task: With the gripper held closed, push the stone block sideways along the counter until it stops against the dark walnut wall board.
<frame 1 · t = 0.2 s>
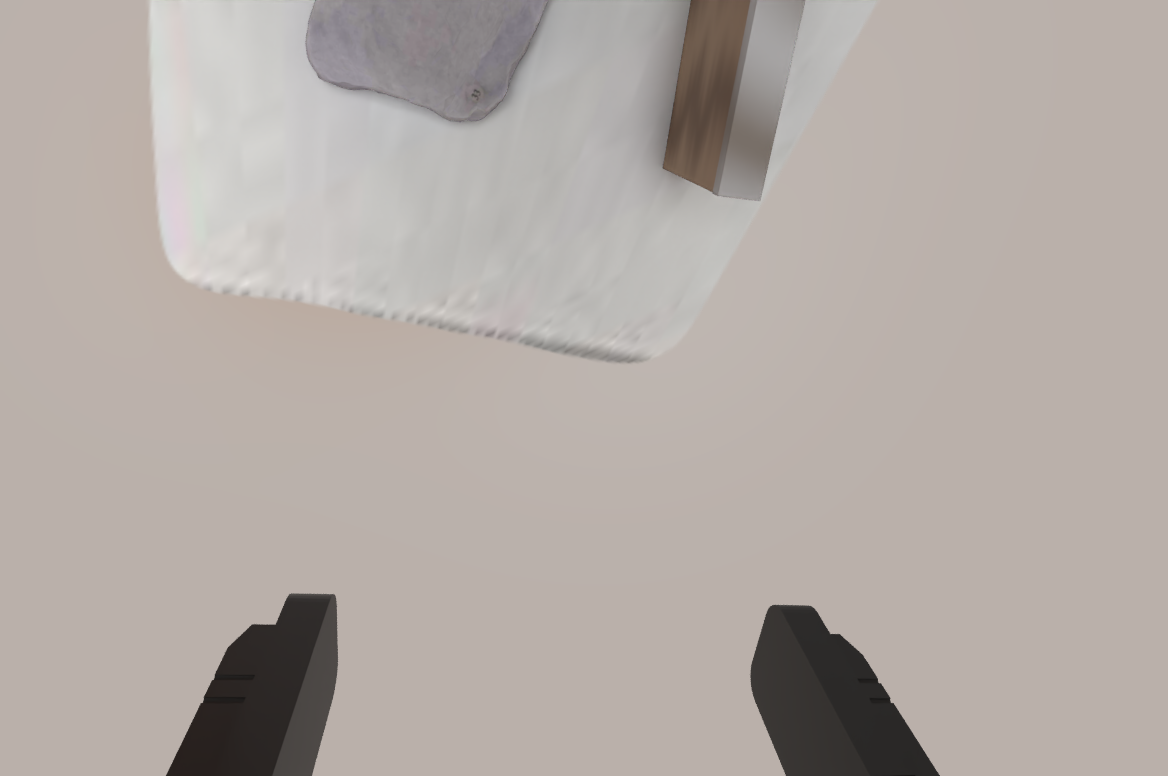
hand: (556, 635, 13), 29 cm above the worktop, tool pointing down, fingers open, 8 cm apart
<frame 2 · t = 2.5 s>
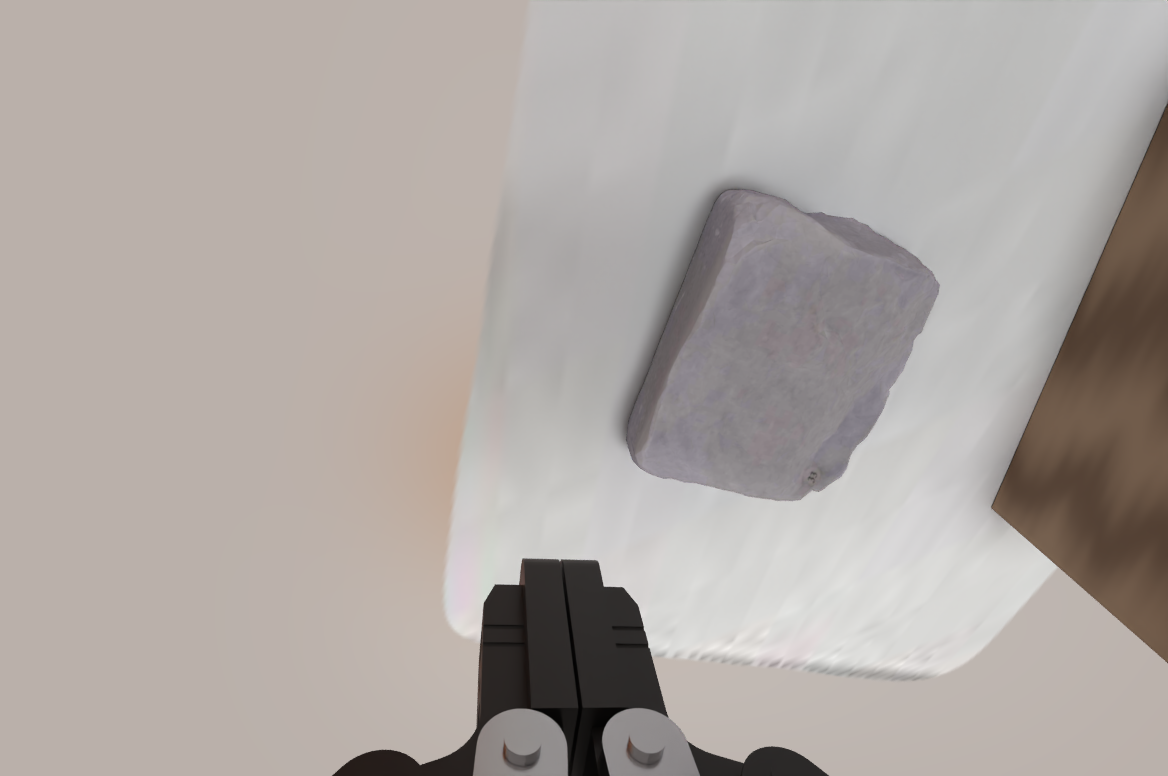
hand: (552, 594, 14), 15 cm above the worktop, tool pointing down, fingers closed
walnut wall board: (1091, 316, 30), on the worktop
stone block: (766, 344, 29), on the worktop
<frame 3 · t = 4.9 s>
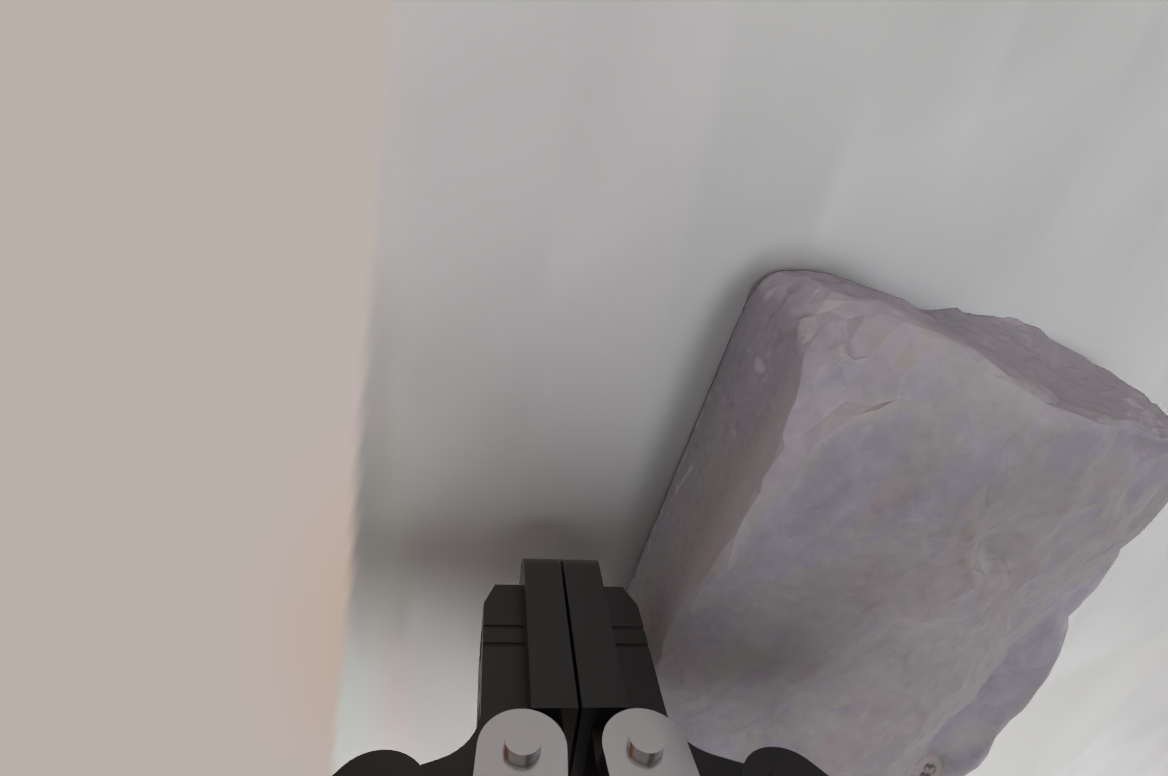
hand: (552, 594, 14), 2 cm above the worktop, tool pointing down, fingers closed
stone block: (839, 526, 16), on the worktop, touching gripper
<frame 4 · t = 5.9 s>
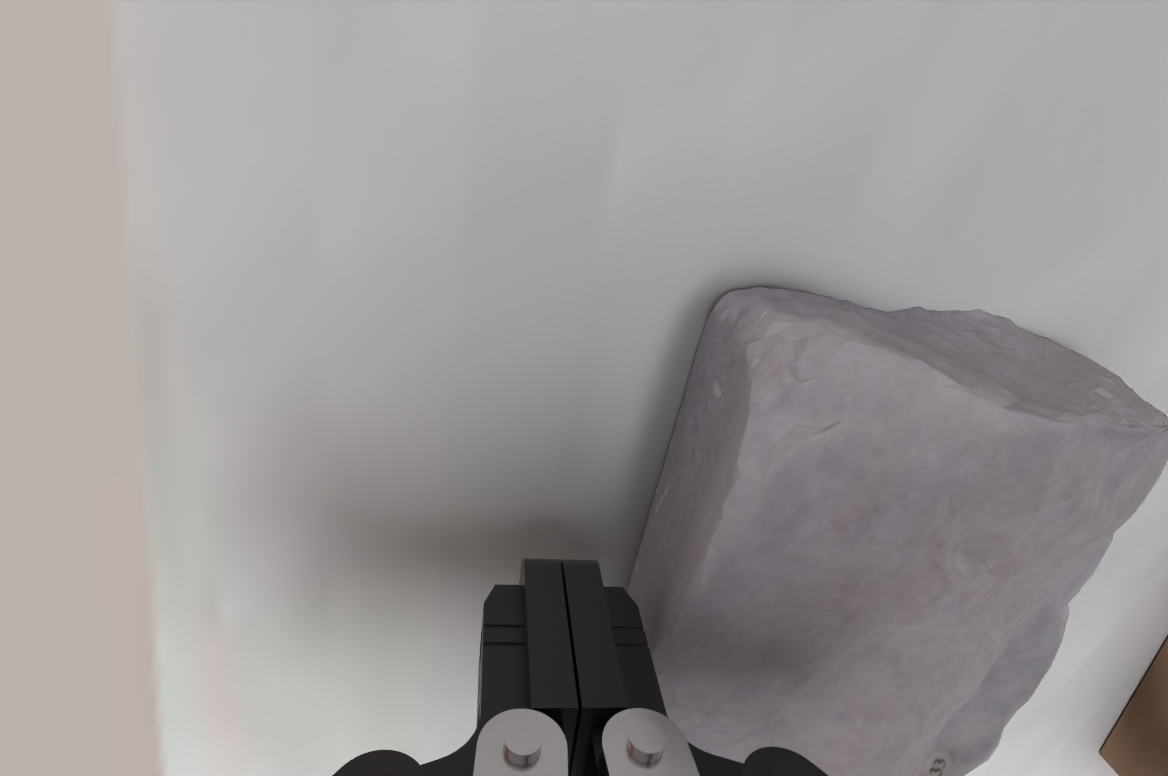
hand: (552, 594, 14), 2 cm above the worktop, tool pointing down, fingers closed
stone block: (829, 529, 16), on the worktop, touching gripper
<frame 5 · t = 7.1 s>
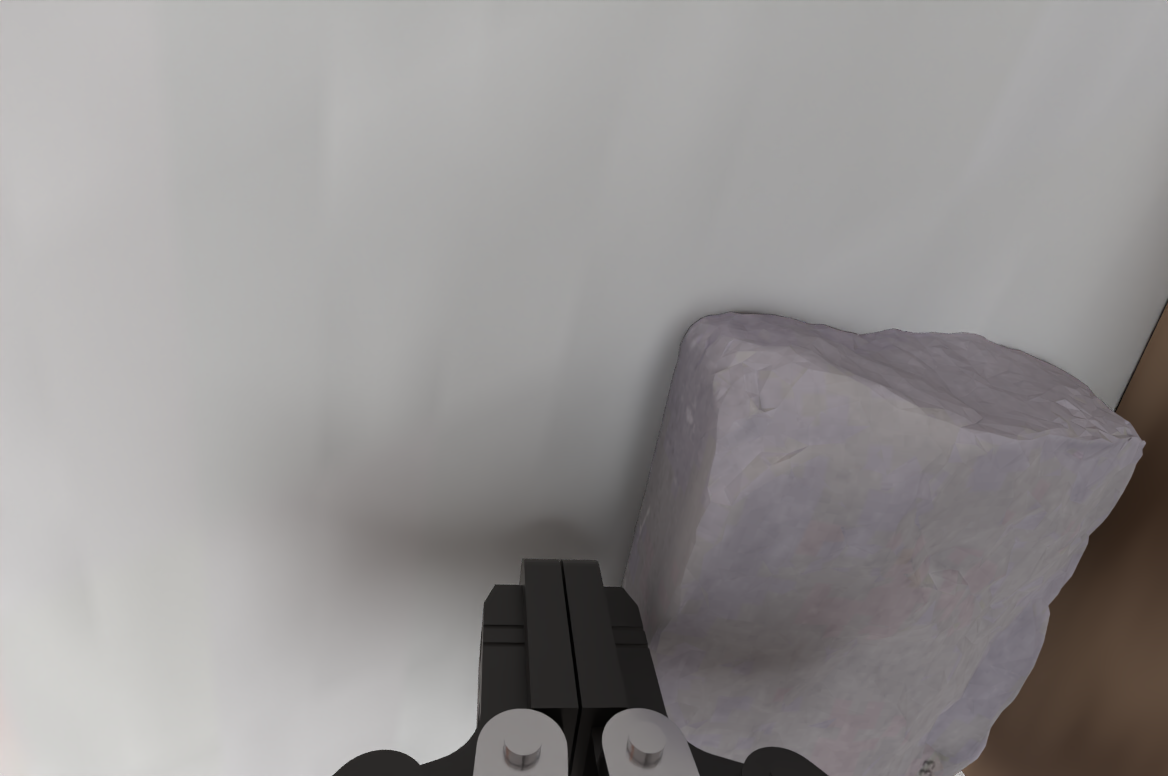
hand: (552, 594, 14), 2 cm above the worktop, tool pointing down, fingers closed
walnut wall board: (1124, 454, 16), on the worktop
stone block: (814, 538, 17), on the worktop
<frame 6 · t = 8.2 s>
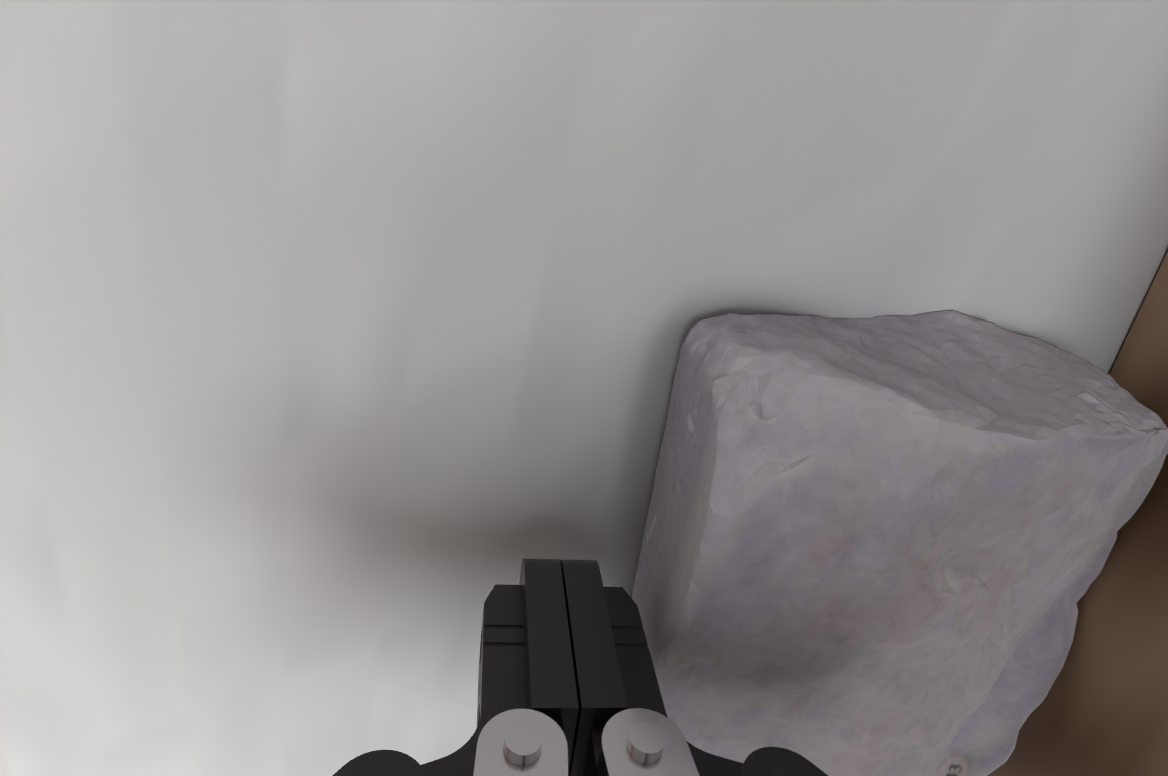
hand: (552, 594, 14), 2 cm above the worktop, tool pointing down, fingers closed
walnut wall board: (1109, 437, 15), on the worktop
stone block: (829, 539, 16), on the worktop, touching gripper, walnut wall board
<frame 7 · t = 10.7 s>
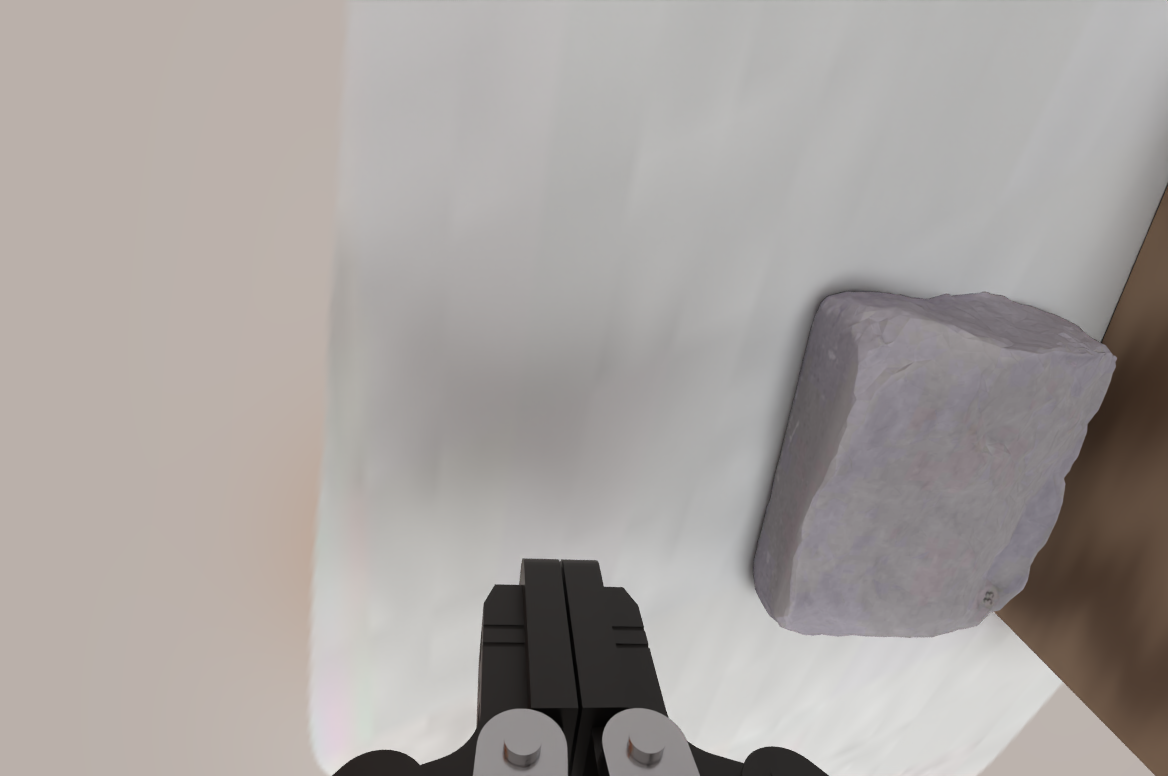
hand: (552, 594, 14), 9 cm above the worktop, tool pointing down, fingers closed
walnut wall board: (1106, 377, 24), on the worktop
stone block: (899, 447, 24), on the worktop
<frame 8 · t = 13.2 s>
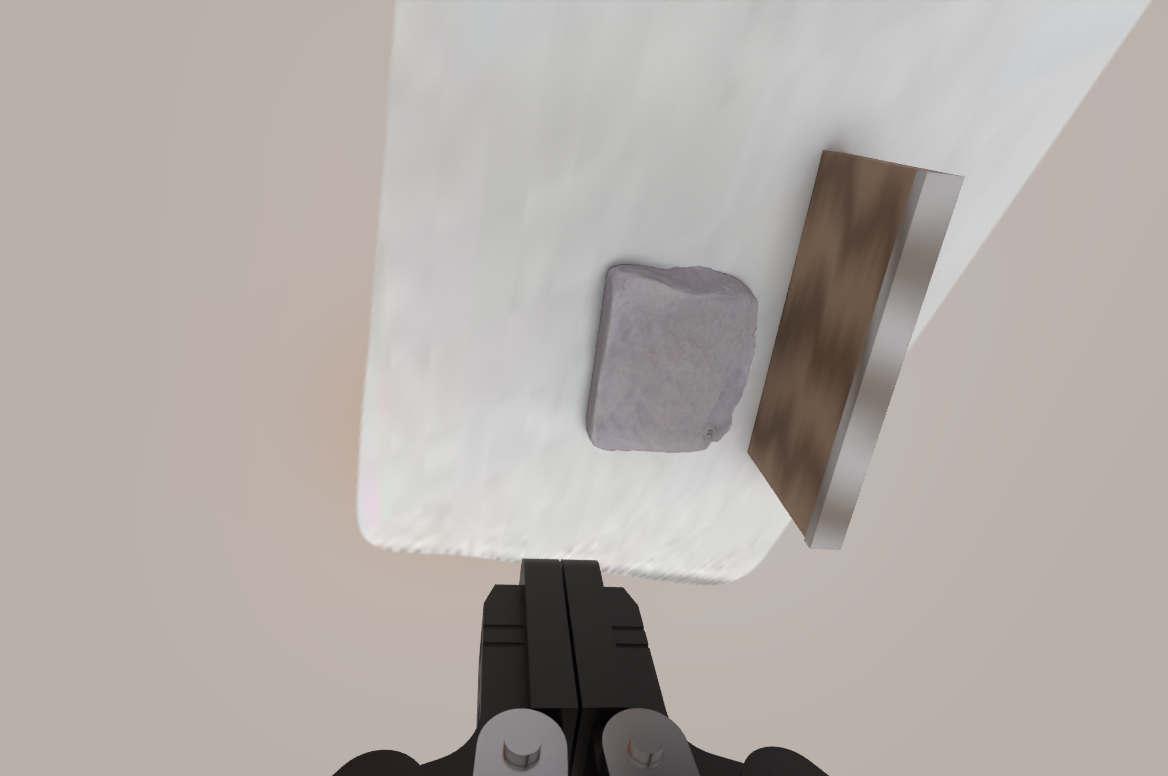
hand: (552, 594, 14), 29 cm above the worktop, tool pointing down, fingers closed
walnut wall board: (793, 316, 43), on the worktop
stone block: (666, 352, 44), on the worktop
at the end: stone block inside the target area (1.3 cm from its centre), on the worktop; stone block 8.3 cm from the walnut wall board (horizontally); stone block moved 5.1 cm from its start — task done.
